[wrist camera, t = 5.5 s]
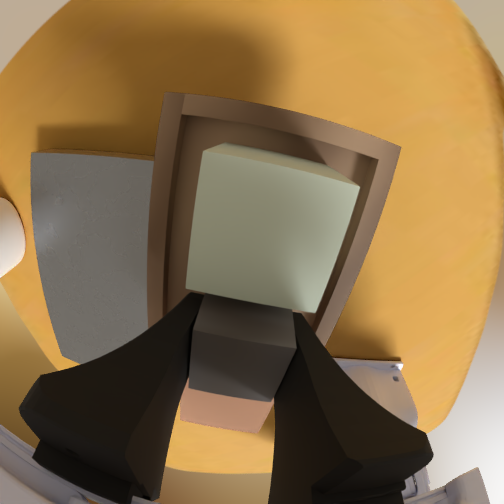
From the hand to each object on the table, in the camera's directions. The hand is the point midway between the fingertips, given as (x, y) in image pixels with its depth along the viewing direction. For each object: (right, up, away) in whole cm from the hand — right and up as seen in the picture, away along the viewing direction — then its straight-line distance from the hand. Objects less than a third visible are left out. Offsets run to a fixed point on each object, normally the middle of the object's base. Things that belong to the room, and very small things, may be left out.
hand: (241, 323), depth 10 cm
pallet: (0, +2, +4) cm, 5 cm away
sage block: (+1, +5, 0) cm, 5 cm away
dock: (-11, 0, +12) cm, 16 cm away
